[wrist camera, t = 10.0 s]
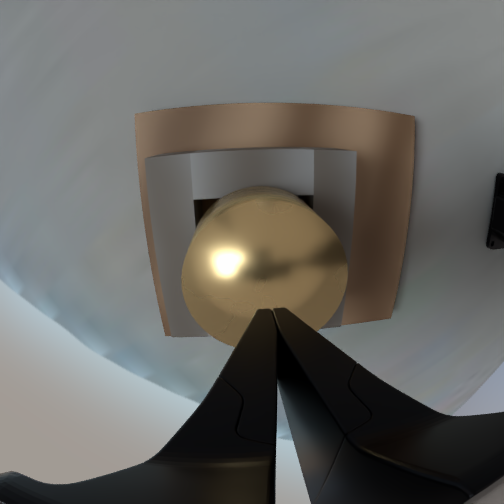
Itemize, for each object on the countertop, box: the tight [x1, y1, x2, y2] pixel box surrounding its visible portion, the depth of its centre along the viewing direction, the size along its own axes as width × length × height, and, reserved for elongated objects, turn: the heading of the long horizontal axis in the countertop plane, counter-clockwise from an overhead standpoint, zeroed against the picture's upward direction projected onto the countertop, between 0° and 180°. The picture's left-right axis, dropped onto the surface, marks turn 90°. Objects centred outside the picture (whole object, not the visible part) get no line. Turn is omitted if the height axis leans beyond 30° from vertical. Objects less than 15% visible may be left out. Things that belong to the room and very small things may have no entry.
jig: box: [135, 103, 415, 337], centre depth 15 cm, size 16×14×4 cm
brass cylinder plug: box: [181, 186, 348, 347], centre depth 13 cm, size 6×6×6 cm
